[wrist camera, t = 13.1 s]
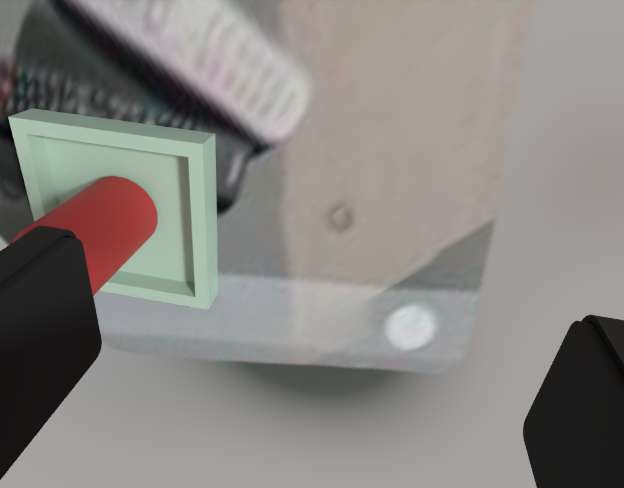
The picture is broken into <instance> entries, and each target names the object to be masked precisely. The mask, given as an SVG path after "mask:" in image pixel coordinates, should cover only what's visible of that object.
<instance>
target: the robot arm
mask: <svg viewBox="0 0 624 488" xmlns="http://www.w3.org/2000/svg"><path fill="white" fill-rule="evenodd" d="M101 344H102V341H101V335H100V330H99V324H98V319H97V314H96V309H95V304H94V298H93V293H92V288H91V283H90V278H89V273H88V267H87V262H86V257H85V252H84V247H83V244H82V242H81V240H79V239H77V238H76V235H75V234H74V233H73V232H72V231H71V230H68V229H62V228H55V227H49V226H37V227H35V228H34V229H32V230H31V231H29V232H28V233H26V234H25V235H23V236H22V237H20V238H19V239H17V240H16V241H15V242H13V243H12V244H10V245H9V246H7V247H6V248H5V249H3V250H1V251H0V480H1V478H2V477H3V475H5V473H6V472H7V471H8V470H9V468H10V467H11V466H12V464H13V463H14V462H15V461H16V460H17V458H18V457H19V456H20V454H21V453H22V452H23V451H24V449H25V448H26V447H27V446H28V444H29V443H30V442H31V441H32V439H33V438H34V437H35V436H36V434H37V433H38V432H39V431H40V429H41V428H42V427H43V425H44V424H45V423H46V422H47V420H48V419H49V418H50V417H51V415H52V414H53V413H54V412H55V410H56V409H57V408H58V407H59V405H60V404H61V403H62V401H63V400H64V399H65V398H66V397H67V395H68V394H69V393H70V391H71V390H72V389H73V388H74V386H75V385H76V384H77V383H78V381H79V380H80V379H81V378H82V376H83V375H84V374H85V372H86V371H87V370H88V369H89V368H90V366H91V365H92V364H93V362H94V361H95V360H96V358H97V357H98V355H99V353H100V350H101ZM523 437H524V442H525V445H526V449H527V453H528V456H529V460H530V464H531V468H532V471H533V475H534V479H535V482H536V486H537V488H624V320H619V319H613V318H607V317H601V316H595V315H588V316H586V317H585V318H583V320H582V321H581V322H580V321H575V322H574V323H573V324H572V325H571V326H570V328H569V330H568V332H567V334H566V336H565V338H564V340H563V342H562V345H561V346H560V349H559V351H558V353H557V355H556V357H555V359H554V361H553V363H552V365H551V367H550V369H549V371H548V373H547V375H546V377H545V379H544V382H543V384H542V386H541V388H540V390H539V392H538V394H537V396H536V398H535V400H534V402H533V404H532V406H531V409H530V410H529V412H528V415H527V417H526V419H525V422H524V427H523Z"/></svg>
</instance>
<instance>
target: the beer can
mask: <svg viewBox="0 0 624 488" xmlns="http://www.w3.org/2000/svg"><path fill="white" fill-rule="evenodd" d="M157 224H158V216H157V210H156V207H155V204H154V202H153V200H152V199H151V197H150V196H149V195H148V193H147V192H146V191H145V190H144V189H143V188H142V187H140V186H139V185H138V184H137V183H135V182H133V181H131V180H129V179H127V178H122V177H117V176H109V177H103V178H101V179H99V180H97V181H96V182H94V183H92V184H91V185H89V186H88V187H86V188H85V189H83V190H82V191H80V192H79V193H77V194H76V195H74V196H73V197H71V198H70V199H68V200H67V201H65V202H64V203H62V204H61V205H59V206H58V207H56V208H55V209H53V210H52V211H50V212H49V213H47V214H46V215H44V216H43V217H41V218H40V219H38V220H36V221H35V222H33V223H32V224H30V225H29V226H27V227H26V228H24V229H23V230H21V231H20V232H19V233H18V235H17V236H16V237H15V238H14V240H13V241H12V243H13V242H15V241H16V240H17V239H19V238H20V237H22V236H23V235H25V234H26V233H28V232H29V231H31V230H32V229H34V228H35V227H37V226H49V227H55V228H62V229H68V230H71V231H72V232H73V233H74V234H75V235H76V238H77V239H79V240H81V242H82V244H83V247H84V252H85V257H86V262H87V267H88V273H89V278H90V283H91V288H92V293H93V296H94V295H95V294H96V293H97V291H98V290H99V289H100V288H101V287H102V286H103V285H104V284H105V283H106V282H107V281H108V280H109V279H110V278H111V277H112V276H113V275H114V274H115V273H116V272H117V271H118V270H119V269H120V268H121V267H122V266H123V265H124V264H125V263H126V262H127V261H128V260H129V259H130V258H131V257H132V255H133V254H134V253H135V252H136V251H137V250H138V249H139V248H140V247H141V246H142V245H143V244H144V243H145V242H146V241H147V240H148V239H149V238H150V237H151V236H152V235H153V233H154V232H155V230H156V227H157ZM12 243H11V244H12Z"/></svg>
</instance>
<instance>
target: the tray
mask: <svg viewBox="0 0 624 488" xmlns="http://www.w3.org/2000/svg"><path fill="white" fill-rule="evenodd" d="M8 118H9V122H10V126H11V130H12V134H13V138H14V142H15V146H16V150H17V154H18V158H19V162H20V166H21V170H22V174H23V178H24V182H25V186H26V190H27V194H28V199H29V203H30V207H31V211H32V215H33V219H34V222H35V221H36V220H38V219H40V218H41V217H43V216H44V215H46V214H47V213H49V212H50V211H52V210H53V209H55V208H56V207H58V206H59V205H61V204H62V203H64V202H65V201H67V200H68V199H70V198H71V197H73V196H74V195H76V194H77V193H79V192H80V191H82V190H83V189H85V188H86V187H88V186H89V185H91V184H92V183H94V182H96V181H97V180H99V179H101V178H103V177H109V176H117V177H122V178H127V179H129V180H131V181H133V182H135V183H137V184H138V185H139V186H140V187H142V188H143V189H144V190H145V191H146V192H147V193H148V195H149V196H150V197H151V199H152V200H153V202H154V204H155V207H156V210H157V216H158V224H157V227H156V230H155V232H154V233H153V235H152V236H151V237H150V238H149V239H148V240H147V241H146V242H145V243H144V244H143V245H142V246H141V247H140V248H139V249H138V250H137V251H136V252H135V253H134V254H133V255H132V257H131V258H130V259H129V260H128V261H127V262H126V263H125V264H124V265H123V266H122V267H121V268H120V269H119V270H118V271H117V272H116V273H115V274H114V275H113V276H112V277H111V278H110V279H109V280H108V281H107V282H106V283H105V284H104V285H103V286H102V287H101V288H100V289H99V291H105V292H110V293H116V294H122V295H128V296H133V297H139V298H145V299H150V300H156V301H162V302H168V303H173V304H179V305H185V306H190V307H196V308H202V309H207V310H208V309H209V308H210V306H211V304H212V302H213V301H214V299H215V297H216V295H217V294H218V254H217V204H216V155H215V134H214V133H206V132H199V131H192V130H185V129H178V128H170V127H163V126H156V125H149V124H141V123H134V122H127V121H120V120H112V119H105V118H98V117H91V116H83V115H76V114H69V113H62V112H54V111H47V110H40V109H33V108H32V109H29V110H26V111H24V112H21V113H18V114H15V115H12V116H10V117H8Z"/></svg>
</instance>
